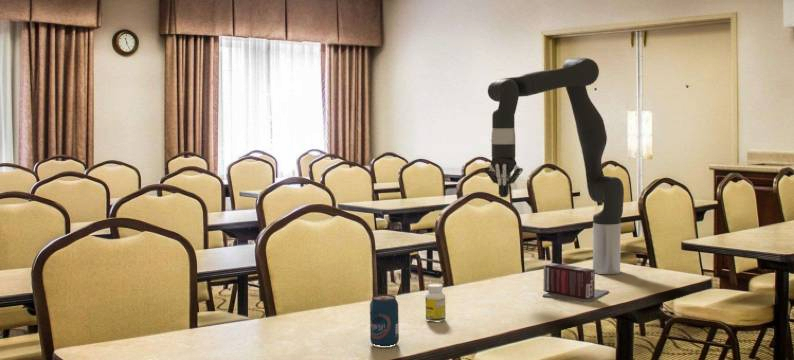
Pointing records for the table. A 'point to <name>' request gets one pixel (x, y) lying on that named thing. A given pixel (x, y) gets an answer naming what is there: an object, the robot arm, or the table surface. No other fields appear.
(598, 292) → the mat
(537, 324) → the table surface
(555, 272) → the supplement box
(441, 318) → the supplement bottle
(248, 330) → the table surface
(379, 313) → the soda can
